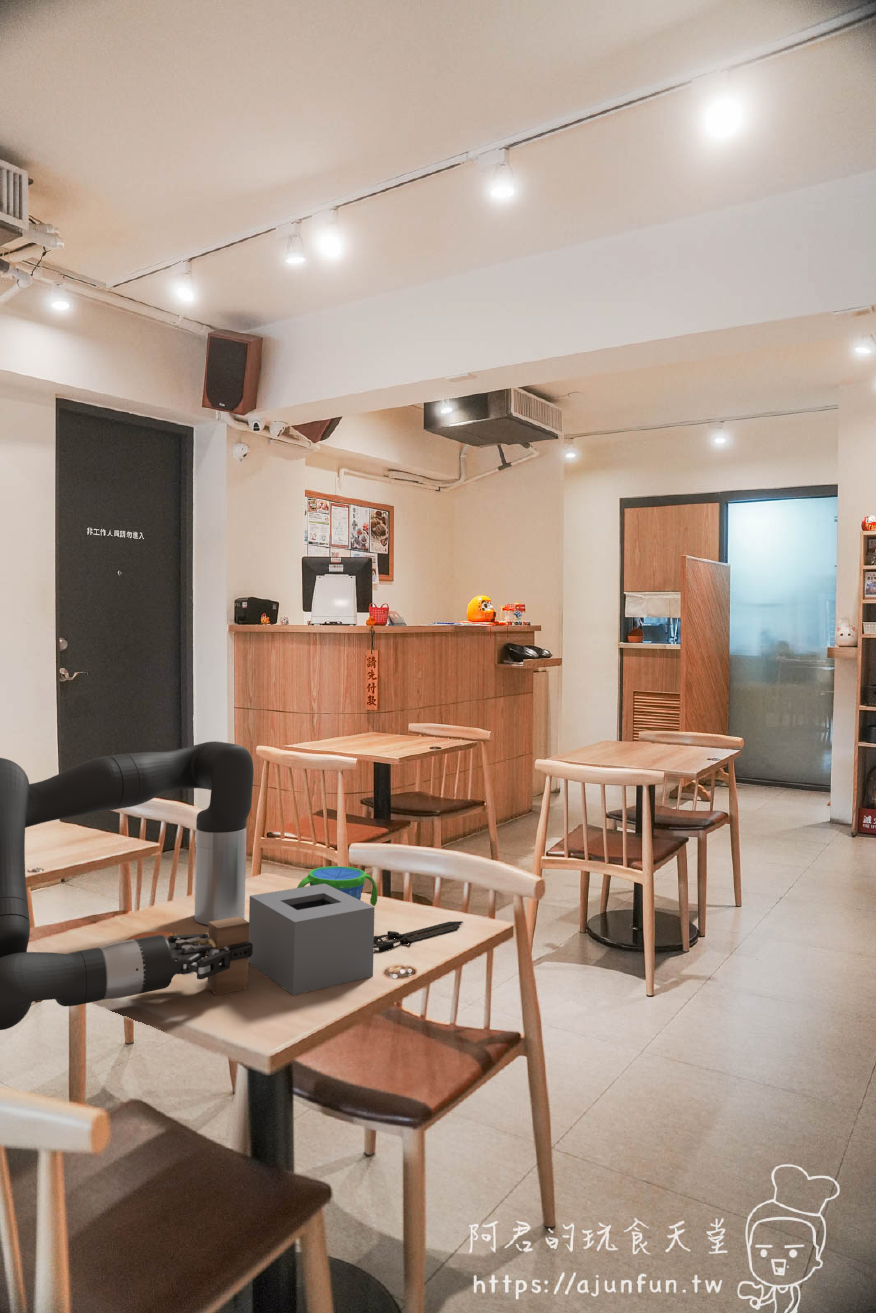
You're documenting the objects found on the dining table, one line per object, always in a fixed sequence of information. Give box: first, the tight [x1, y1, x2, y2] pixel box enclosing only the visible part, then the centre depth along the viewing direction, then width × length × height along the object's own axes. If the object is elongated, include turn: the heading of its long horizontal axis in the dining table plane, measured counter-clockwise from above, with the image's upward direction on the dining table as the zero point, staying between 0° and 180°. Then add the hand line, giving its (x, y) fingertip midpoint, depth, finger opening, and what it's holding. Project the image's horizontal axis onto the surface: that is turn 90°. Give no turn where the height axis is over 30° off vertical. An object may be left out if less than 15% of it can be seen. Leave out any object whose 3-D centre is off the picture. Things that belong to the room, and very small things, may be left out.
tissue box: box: [248, 884, 375, 996], centre depth 142 cm, size 16×14×11 cm
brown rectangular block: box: [206, 916, 249, 996], centre depth 134 cm, size 4×5×10 cm
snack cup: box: [296, 865, 379, 907], centre depth 163 cm, size 16×10×10 cm
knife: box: [374, 920, 464, 953], centre depth 159 cm, size 25×6×1 cm, turn 126°
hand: (245, 944), depth 136 cm, fingers closed on brown rectangular block, 3 cm apart
